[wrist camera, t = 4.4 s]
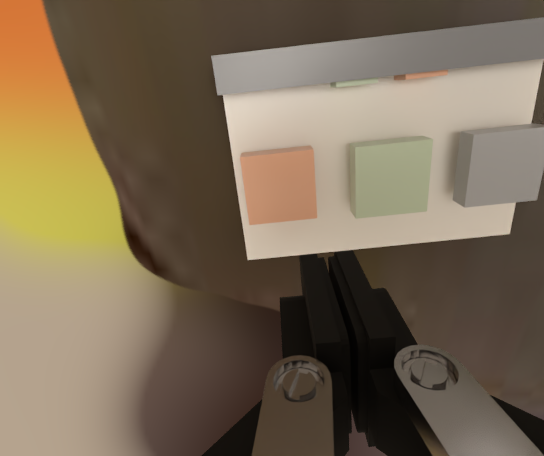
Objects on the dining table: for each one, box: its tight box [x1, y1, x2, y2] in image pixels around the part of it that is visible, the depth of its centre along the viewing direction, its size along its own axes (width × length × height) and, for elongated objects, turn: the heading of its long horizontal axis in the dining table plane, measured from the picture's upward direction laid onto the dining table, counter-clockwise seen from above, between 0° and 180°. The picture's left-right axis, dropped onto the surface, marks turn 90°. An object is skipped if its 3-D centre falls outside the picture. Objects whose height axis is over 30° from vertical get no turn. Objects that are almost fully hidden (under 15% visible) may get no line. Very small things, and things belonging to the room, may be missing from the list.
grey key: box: [453, 123, 544, 208], centre depth 21 cm, size 5×5×2 cm
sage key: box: [350, 136, 433, 219], centre depth 22 cm, size 5×5×2 cm
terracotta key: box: [240, 145, 317, 225], centre depth 22 cm, size 5×5×2 cm
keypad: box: [211, 17, 544, 260], centre depth 23 cm, size 20×14×5 cm
